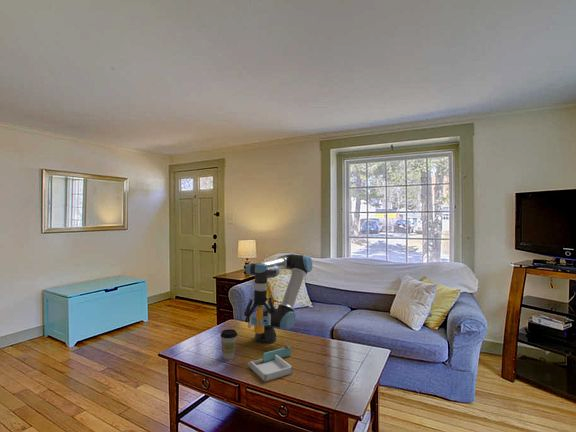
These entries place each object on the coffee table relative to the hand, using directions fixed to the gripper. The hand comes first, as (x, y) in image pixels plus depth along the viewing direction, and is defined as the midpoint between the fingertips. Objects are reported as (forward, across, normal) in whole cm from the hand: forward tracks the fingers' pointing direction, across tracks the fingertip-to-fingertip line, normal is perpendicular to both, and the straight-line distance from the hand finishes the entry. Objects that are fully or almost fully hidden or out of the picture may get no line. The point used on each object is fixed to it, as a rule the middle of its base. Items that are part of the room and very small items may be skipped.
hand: (259, 326), depth 182 cm
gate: (+19, -10, +6) cm, 22 cm away
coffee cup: (+19, +15, -10) cm, 26 cm away
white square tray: (+19, 0, +16) cm, 25 cm away
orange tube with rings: (+4, 0, 0) cm, 4 cm away
